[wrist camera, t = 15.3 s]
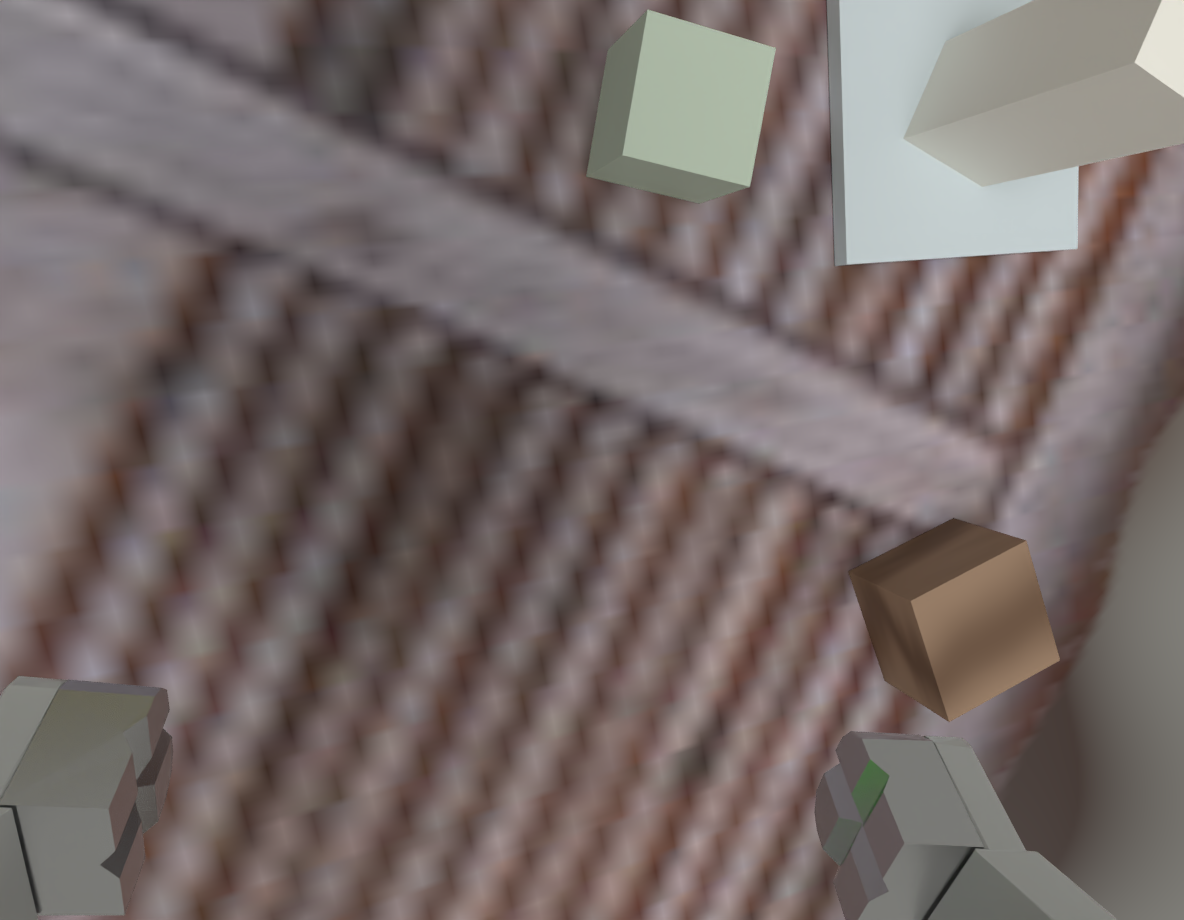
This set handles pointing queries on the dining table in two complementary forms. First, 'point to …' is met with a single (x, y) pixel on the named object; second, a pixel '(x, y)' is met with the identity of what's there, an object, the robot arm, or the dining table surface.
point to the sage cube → (680, 109)
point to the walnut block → (955, 616)
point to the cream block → (1055, 89)
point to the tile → (906, 173)
